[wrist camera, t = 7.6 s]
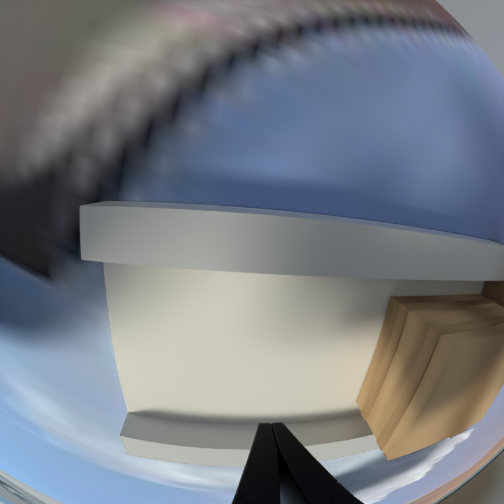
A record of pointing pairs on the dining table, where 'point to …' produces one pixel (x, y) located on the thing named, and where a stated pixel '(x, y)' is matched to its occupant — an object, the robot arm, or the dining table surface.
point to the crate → (432, 370)
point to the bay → (259, 318)
